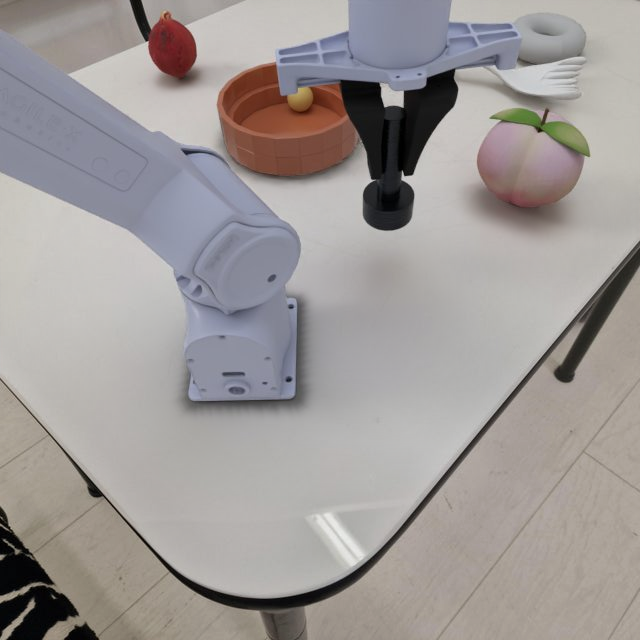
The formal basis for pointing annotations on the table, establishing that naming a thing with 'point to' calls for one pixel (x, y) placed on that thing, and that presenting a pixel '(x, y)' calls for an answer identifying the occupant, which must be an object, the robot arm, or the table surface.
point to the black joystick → (390, 178)
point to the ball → (301, 99)
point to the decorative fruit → (531, 157)
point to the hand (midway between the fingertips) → (389, 169)
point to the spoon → (544, 78)
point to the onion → (172, 46)
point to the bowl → (283, 125)
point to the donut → (549, 37)
